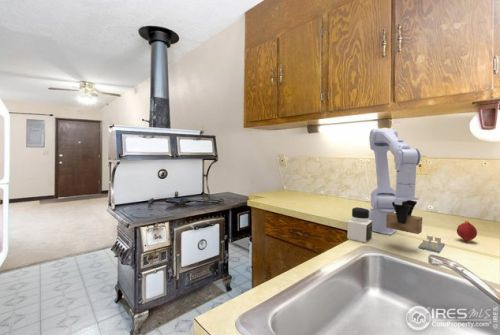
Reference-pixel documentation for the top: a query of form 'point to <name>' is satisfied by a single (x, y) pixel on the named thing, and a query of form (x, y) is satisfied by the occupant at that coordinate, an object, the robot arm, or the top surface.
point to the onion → (467, 231)
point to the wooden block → (411, 224)
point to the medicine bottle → (360, 225)
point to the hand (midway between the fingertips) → (403, 221)
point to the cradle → (432, 244)
